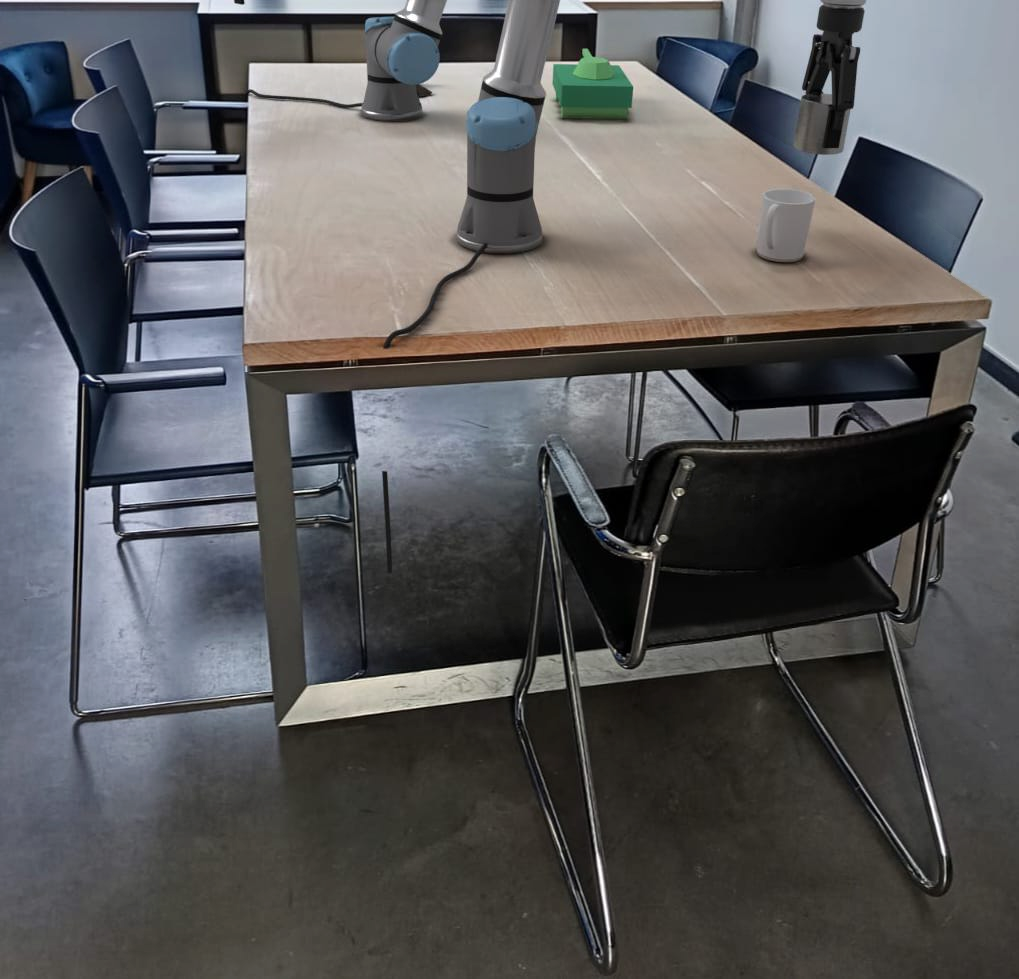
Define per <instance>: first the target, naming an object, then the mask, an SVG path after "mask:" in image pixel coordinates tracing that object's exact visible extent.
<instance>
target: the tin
mask: <svg viewBox="0 0 1019 979" xmlns="http://www.w3.org/2000/svg"><path fill="white" fill-rule="evenodd" d="M848 102H849V101H848ZM831 106H832V93H824V94H806V93H805V94H803V95H801V98H800V104H799V110H798V116H797V123H796V127H795V128H796V129H795V134H794V135H795V136H794V140H793V142H794V143H793V148H794V149H795V150H797V151H799V152H802V153H807V154H812V155H821V156H825V155H826V156H828V155H829V156H830V155H831V156H832V155H838V154H841V153H843V152H844V149H845V143H846V136H847V132H848V128H849V121H850V115H851V110H852V109H848V110H846V111H845V116H844V121H843V127H842V133H841V138H840V144H839V148H823V142H824V136H825V131H826V125H827V119H828V113H829V109H828V108H829V107H831Z"/></svg>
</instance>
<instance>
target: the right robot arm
mask: <svg viewBox="0 0 1019 979" xmlns="http://www.w3.org/2000/svg"><path fill="white" fill-rule="evenodd" d="M560 2H561V0H508V3H507V6H506V12H505V15H504V21H503V25H502V30H501V35H500V39H499V43H498V47H497V53H496V57H495V62H494V66H493V69H492V70H491V71H490V72H489V73H487V74H486V75H484V76H483V77H482V82H481V86H480V91H479V95H478V100H477V101H476V102H474V103H473V104H472V105H471V106H470V107H469V109H468V111H467V117H466V120H465V121H466V122H465V131H466V169H467V170H466V192H467V193H466V198H465V202H464V205H463V209H462V211H461V214H460V218H459V220H458V224H457V228H456V241H457V243H458V244H459V245H461V246H462V247H464V248H466V249H468V250H470V251H475V252H476V253H475V254H473V257H472V258H471V259H470V261H469V262H468V263H467V264H465V266H463V267H461V268H459V269H457V270H455V271H452V272H450V273H448V274H447V275H446V276H444V277H443V278H442V279H440V280H439V282H438V283H437V285H436V286H435V288H434V291H433V293H432V294H431V296H430V298H429V299H430V300H429V303H428V306H427V308H426V309H425V311H424V312H423V313H422V314H421V316H419V318H417V319H416V320H415V321H414V322H413V323H411V324H410V325H409V326H407V327H404V328H400V329H397V330H394V331H393V332H391V333H390V334H389V335H388V337H387V338H386V339H385V342H384V344H383V346H382V349H384V350H387V349H389V348H390V346H391V343H392V341H393V340H395V338H396V337H398V336H402V335H406V334H409V333H411V332H413V331H414V330H415V329H416V328H418V327H419V326H420V325H421V324H423V323H424V321H425V320H426V319H427V318H428V317H429V315H430V314H431V312H432V311H433V309H434V307H435V304H436V300H437V298H438V296H439V293H440V291H441V289H442V287H443V286H444V285H445V284H446V283H447V282H448V281H450V280H451V279H453V278H455V277H458V276H460V275H461V274H464V273H466V272H467V271H468V270H470V269H471V268H472V267H473V266H474V265H475V263H476V262H477V260H478V259H479V257H480V256H481V255H482V254H483V253H486V254H497V255H499V254H500V255H506V254H507V255H508V254H517V253H524V252H527V251H530V250H533V249H536V248H538V247H539V246H540V245H541V244H542V243H543V229H542V224H541V221H540V220H541V219H540V218H539V214H538V213H539V212H538V210H537V206H536V204H535V199H534V184H535V181H534V180H535V157H536V156H535V154H536V141H537V136H538V132H539V131H538V130H539V125H540V121H541V117H542V113H543V109H544V105H545V100H546V98H547V92H546V90H545V87H544V86H543V84H542V82H541V81H542V77H543V74H544V68H545V65H546V61H547V58H548V51H549V48H550V44H551V40H552V36H553V32H554V28H555V23H556V19H557V16H558V11H559V7H560ZM820 2H821V3H822V4H821V5H820V6H819V7H818V13H817V21H816V28H817V29H818V30H820V31H822V34H813V36H812V43H811V49H810V54H809V58H808V62H807V65H806V70H805V74H804V77H803V81H802V85H801V90H802V91H805V95H806V94H825V93H824V91H823V90H824V87H825V84H826V82H827V80H828V77H829V76H830V75H829V74H831V94H832V106H831V107H829V108H828V109H829V113H828V119H827V125H826V131H825V136H824V142H823V148H839V144H840V138H841V133H842V127H843V121H844V116H845V111H846V110H848V109H851V110H854V107H855V97H856V86H857V77H858V76H857V74H858V62H859V59H860V54H861V47H860V46H853V35H854V34H855V33H859V32H860V31H861V30H862V28H863V24H864V23H863V22H864V16H865V11H866V10H865V9H864V7H863V6H864V5H865V4H867V0H820ZM830 72H831V73H830ZM848 101H849V102H848ZM381 471H382V472H381V476H382V477H381V478H382V492H383V510H384V526H385V529H384V530H385V545H386V571H387V573H388V574H392V573H393V555H392V554H393V552H392V533H391V532H392V531H391V515H390V514H391V513H390V498H389V497H390V495H389V478H388V477H389V476H388V475H389V474H388V470H381Z"/></svg>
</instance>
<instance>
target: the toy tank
mask: <svg viewBox="0 0 1019 979" xmlns="http://www.w3.org/2000/svg"><path fill="white" fill-rule="evenodd" d="M581 51H582V53H581V54H582V56H583V57H582V58H581V59H580V60H579V61H578V63H577V64H572V63H571V64H569V63H560V64H559V63H553V64H552V65H553V66H552V86H553V89H554V92H555V100H556V101H558V105H559V106H560V114H561V115H560V116H561V118H562V119H611V120H613V119H615V120H616V119H620V120H621V119H622V120H627V119H628V114H629V109H632V108H633V96H634V95H633V94H634V85H633V84H632V83H631V80H630V79H629V78H628V77H627V75H626V73H625V72H624V70H623V69H622V67H621V66H620V65H618V64H611V63H610V61H609V60H608V59H606V58H604V57H597V56H593V55H592V54H591V52H590V50H589V48H582V50H581Z"/></svg>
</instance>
